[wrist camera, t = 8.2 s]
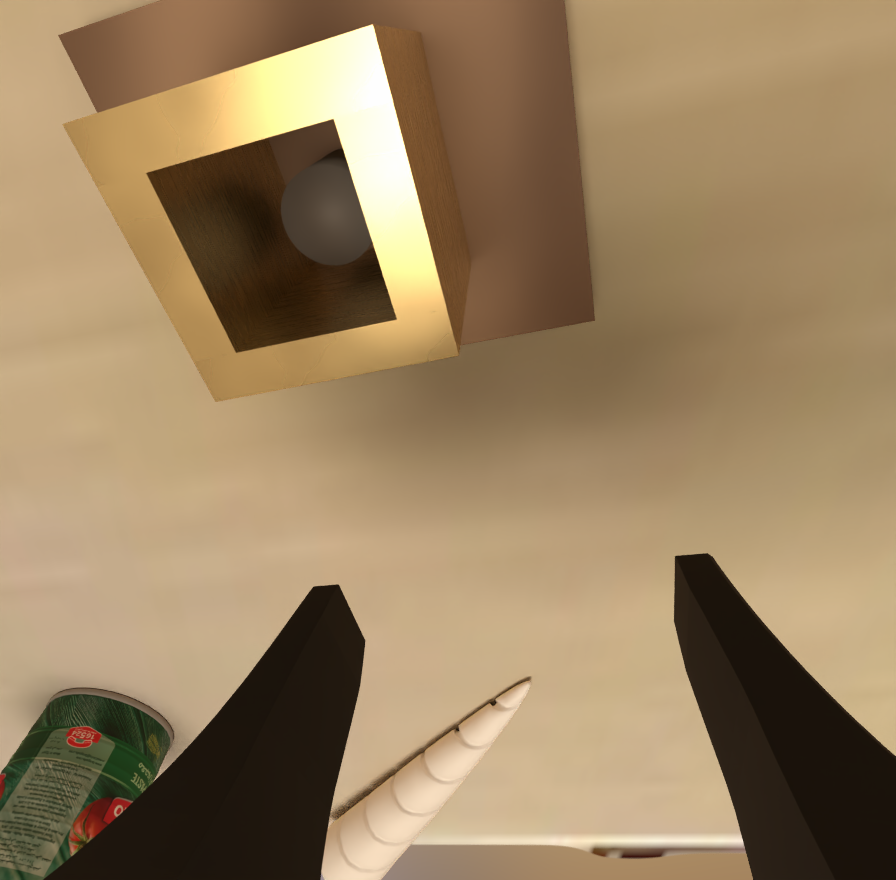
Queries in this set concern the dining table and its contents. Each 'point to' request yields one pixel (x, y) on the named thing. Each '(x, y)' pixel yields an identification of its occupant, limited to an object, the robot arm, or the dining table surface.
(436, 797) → the unicorn horn
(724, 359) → the dining table surface
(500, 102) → the post stand
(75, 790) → the canned tomato
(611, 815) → the dining table surface
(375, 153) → the brass collar
